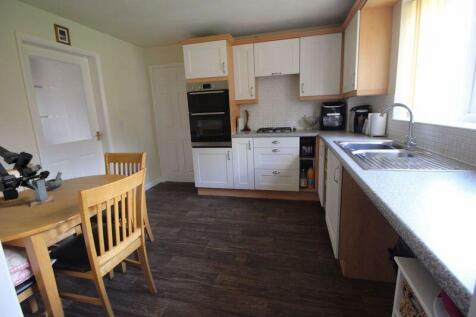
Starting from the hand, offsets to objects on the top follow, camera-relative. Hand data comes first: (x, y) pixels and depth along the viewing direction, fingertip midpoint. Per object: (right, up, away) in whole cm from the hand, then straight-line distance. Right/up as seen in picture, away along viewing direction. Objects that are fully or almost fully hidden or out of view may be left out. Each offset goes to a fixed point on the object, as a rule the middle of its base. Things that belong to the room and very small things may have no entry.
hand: (40, 187), depth 142 cm
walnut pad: (-1, -9, +2) cm, 9 cm away
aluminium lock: (-1, -8, +2) cm, 8 cm away
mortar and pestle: (-11, -4, +27) cm, 29 cm away
